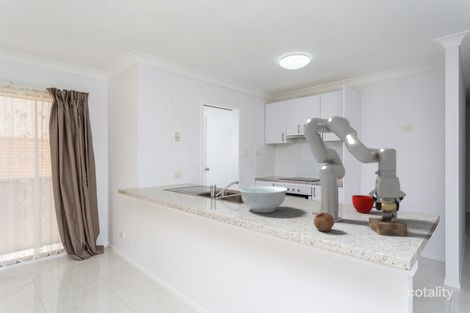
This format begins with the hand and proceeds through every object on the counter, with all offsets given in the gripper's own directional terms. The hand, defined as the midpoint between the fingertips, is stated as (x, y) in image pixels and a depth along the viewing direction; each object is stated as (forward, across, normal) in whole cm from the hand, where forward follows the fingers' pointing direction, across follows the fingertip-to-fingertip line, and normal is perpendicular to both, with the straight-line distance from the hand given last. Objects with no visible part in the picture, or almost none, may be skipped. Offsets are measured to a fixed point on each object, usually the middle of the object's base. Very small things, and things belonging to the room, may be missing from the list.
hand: (387, 210), depth 123 cm
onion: (+10, -30, -2) cm, 32 cm away
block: (+10, 0, 0) cm, 10 cm away
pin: (+4, 0, 0) cm, 4 cm away
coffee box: (+10, +12, +24) cm, 29 cm away
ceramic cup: (+10, +6, +41) cm, 43 cm away
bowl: (+10, -60, +40) cm, 73 cm away
